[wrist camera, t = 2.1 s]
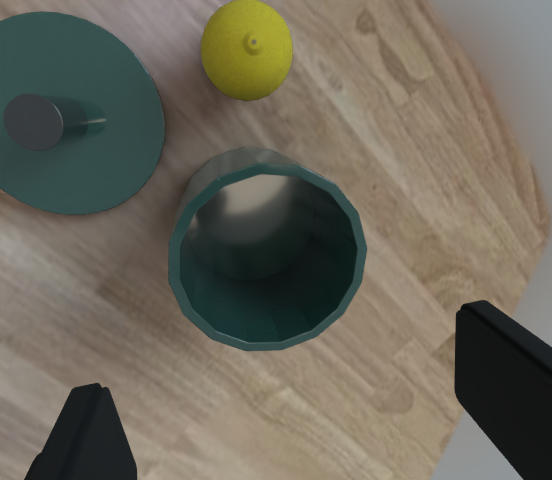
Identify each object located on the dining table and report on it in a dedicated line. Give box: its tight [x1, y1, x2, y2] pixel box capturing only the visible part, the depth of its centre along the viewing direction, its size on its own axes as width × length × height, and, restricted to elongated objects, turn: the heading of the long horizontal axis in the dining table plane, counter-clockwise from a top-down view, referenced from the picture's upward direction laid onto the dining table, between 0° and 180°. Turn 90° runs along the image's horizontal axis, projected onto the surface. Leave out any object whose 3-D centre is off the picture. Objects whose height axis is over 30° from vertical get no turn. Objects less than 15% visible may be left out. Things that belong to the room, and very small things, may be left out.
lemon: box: [201, 0, 293, 101], centre depth 24 cm, size 6×6×8 cm
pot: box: [168, 147, 367, 351], centre depth 27 cm, size 11×11×10 cm
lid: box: [0, 12, 165, 215], centre depth 24 cm, size 13×13×6 cm
